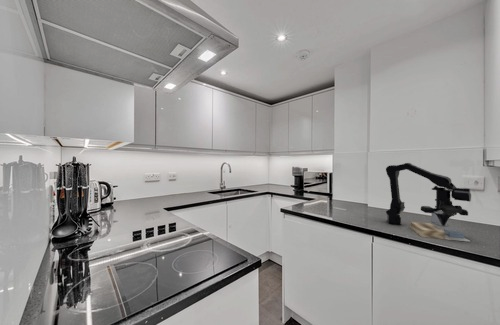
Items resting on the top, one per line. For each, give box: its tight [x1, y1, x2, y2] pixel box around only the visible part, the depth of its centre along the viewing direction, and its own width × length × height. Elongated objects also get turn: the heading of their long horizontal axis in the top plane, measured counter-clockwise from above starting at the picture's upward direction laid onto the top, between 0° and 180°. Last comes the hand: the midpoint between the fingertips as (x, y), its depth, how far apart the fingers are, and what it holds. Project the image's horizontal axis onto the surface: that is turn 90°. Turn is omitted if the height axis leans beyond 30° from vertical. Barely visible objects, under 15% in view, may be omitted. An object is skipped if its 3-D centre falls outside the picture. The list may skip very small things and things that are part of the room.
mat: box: [441, 229, 471, 242], centre depth 108 cm, size 10×14×1 cm
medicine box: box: [430, 213, 449, 227], centre depth 127 cm, size 8×4×9 cm, turn 168°
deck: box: [410, 221, 446, 240], centre depth 112 cm, size 10×14×4 cm
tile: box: [443, 228, 465, 238], centre depth 107 cm, size 6×6×2 cm
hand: (443, 225), depth 109 cm, fingers closed
